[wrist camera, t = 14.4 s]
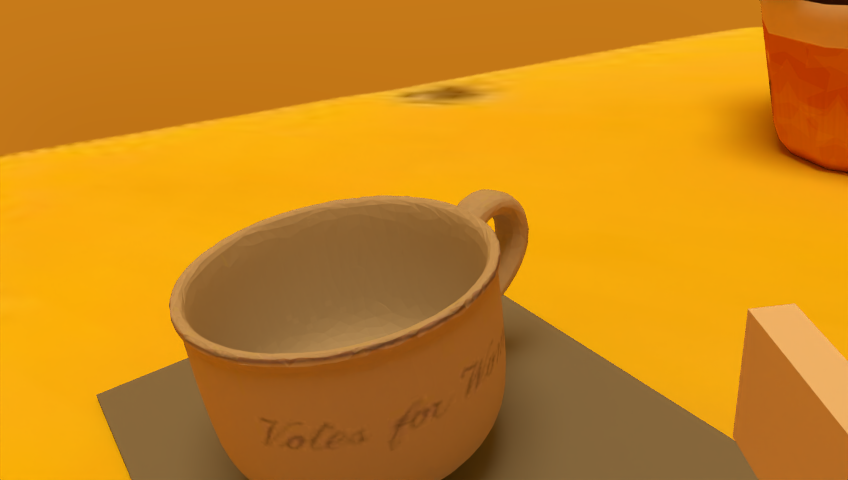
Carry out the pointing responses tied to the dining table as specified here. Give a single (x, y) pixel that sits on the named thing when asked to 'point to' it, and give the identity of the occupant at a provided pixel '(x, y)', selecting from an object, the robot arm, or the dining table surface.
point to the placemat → (507, 440)
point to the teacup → (354, 335)
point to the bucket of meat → (809, 77)
